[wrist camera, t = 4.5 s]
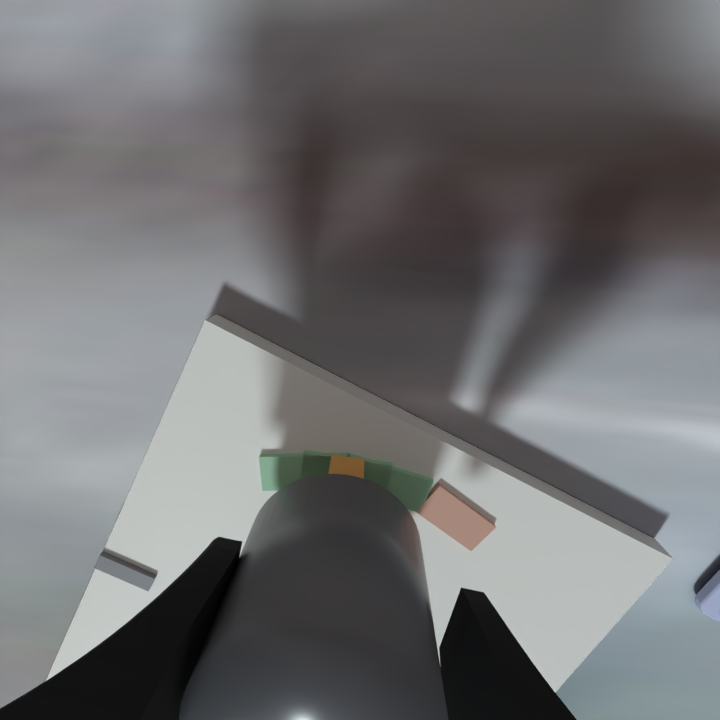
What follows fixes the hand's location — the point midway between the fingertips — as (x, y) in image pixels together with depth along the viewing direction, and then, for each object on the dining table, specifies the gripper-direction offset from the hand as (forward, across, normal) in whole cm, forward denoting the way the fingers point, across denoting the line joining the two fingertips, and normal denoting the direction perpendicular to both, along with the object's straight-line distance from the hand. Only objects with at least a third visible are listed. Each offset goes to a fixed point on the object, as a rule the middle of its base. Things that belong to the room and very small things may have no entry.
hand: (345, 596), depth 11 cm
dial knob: (+3, 0, +3) cm, 4 cm away
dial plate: (+4, 0, +6) cm, 8 cm away
